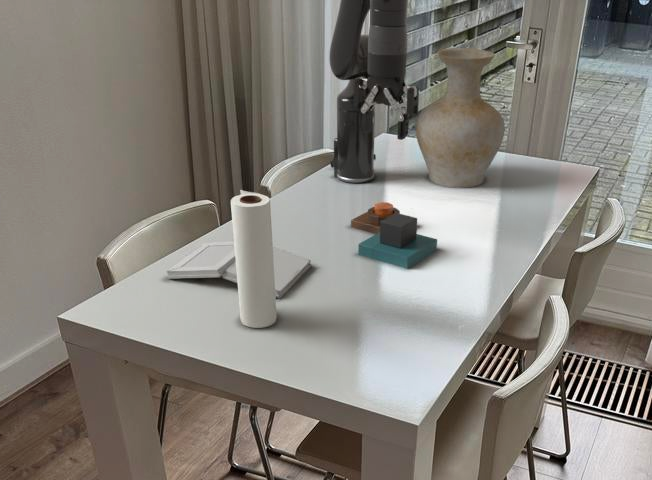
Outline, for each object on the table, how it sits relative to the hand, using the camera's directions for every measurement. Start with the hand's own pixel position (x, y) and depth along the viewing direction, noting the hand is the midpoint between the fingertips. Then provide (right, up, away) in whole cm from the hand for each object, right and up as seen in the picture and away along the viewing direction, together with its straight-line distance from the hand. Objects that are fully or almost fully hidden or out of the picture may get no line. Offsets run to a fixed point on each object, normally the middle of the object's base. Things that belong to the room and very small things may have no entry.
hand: (384, 135), depth 157 cm
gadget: (-27, -30, -11) cm, 42 cm away
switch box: (0, -17, +11) cm, 20 cm away
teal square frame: (+3, -24, -1) cm, 24 cm away
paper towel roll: (-21, -40, -26) cm, 52 cm away
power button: (0, -14, +9) cm, 17 cm away
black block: (+3, -24, -1) cm, 24 cm away
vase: (+18, +2, +40) cm, 44 cm away
